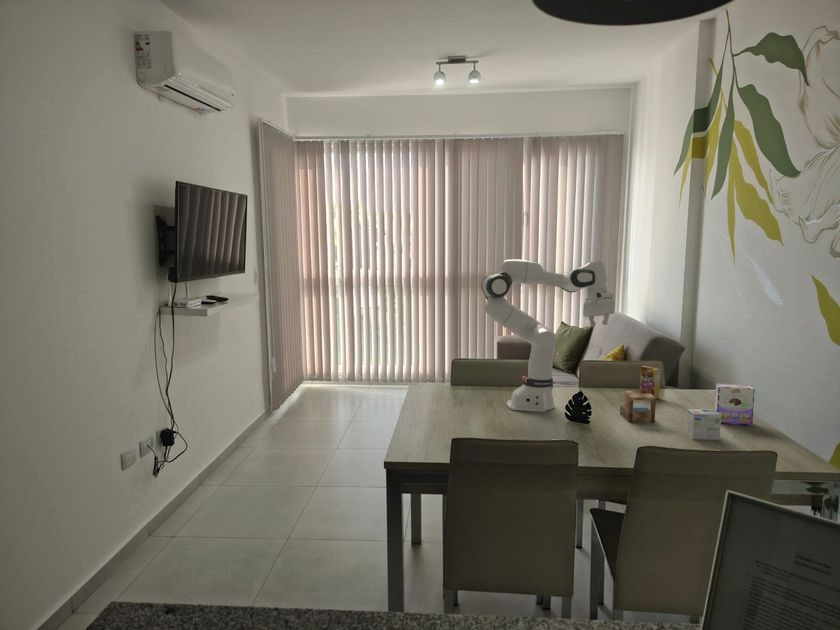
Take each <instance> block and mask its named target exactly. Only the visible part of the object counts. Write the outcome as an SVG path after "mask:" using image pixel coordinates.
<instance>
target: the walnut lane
mask: <svg viewBox="0 0 840 630" xmlns="http://www.w3.org/2000/svg"><path fill="white" fill-rule="evenodd" d="M625 396H626V397H627V398H628V399H629V403H628V409H627V408H626V407H625V406H624V404H622V405H619V406H620V407H619V414H620V415H621V416H622V417H623V418H624V419H625V420H626V421H627V422H628V423H630V424H631V423H637V424H639V423H645V424H646V423H647V424H648V423H653V424H654V423H655V421H656V403H657V399H656V397H654V396H653V395H652V394H640V393H634V394H625ZM633 400H634V401H650V408H649V407H647V408H648V412H647V413H633V404H634V403H633Z"/></svg>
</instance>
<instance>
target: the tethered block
mask: <svg viewBox="0 0 840 630" xmlns="http://www.w3.org/2000/svg"><path fill="white" fill-rule="evenodd" d="M625 394H635V392H634V391H632V390H624V394H623V395H624V397H623V405H624V406H625V407H626V408H627V409H628V403H629V399H628V398H627V397H626V396H625ZM634 401H635V400H633V413H647V412H648V408H649V407H647V406H646V405H644V403H634Z"/></svg>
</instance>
